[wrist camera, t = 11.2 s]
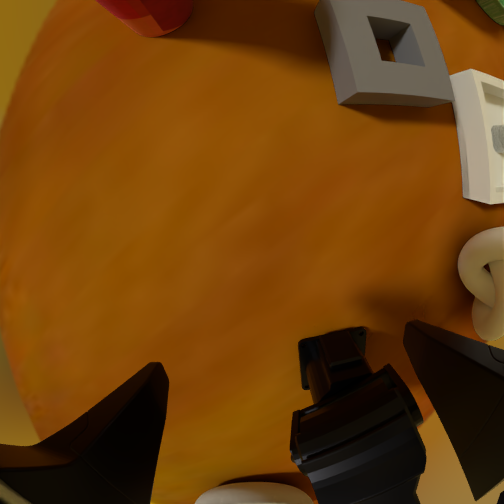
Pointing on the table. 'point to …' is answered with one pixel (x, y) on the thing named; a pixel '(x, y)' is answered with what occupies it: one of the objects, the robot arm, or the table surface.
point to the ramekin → (493, 9)
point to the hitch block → (368, 57)
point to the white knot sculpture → (485, 281)
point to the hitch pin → (498, 138)
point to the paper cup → (150, 14)
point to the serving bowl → (254, 494)
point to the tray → (479, 134)
